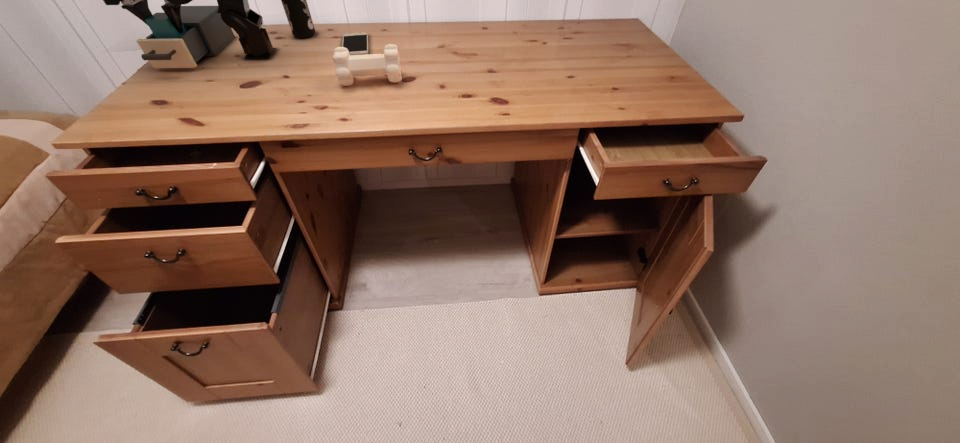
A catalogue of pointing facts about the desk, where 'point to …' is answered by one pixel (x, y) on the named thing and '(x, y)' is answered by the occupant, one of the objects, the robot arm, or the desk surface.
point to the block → (163, 27)
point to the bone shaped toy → (367, 65)
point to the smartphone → (356, 43)
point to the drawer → (174, 49)
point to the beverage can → (299, 18)
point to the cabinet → (208, 26)
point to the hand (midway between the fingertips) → (170, 33)
